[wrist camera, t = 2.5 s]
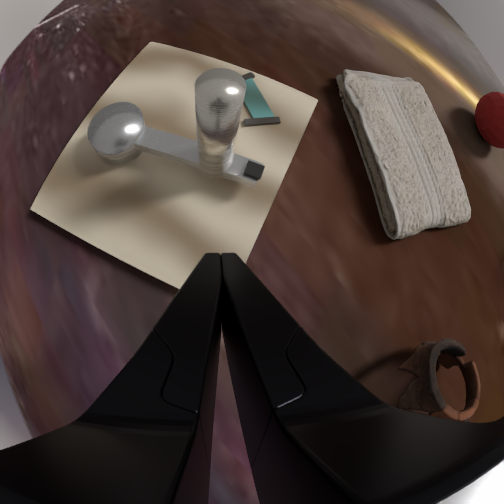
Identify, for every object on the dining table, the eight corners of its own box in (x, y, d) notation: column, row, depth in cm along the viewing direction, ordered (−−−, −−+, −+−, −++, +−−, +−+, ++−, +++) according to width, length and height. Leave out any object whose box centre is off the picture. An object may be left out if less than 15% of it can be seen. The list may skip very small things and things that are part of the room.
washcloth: (408, 87, 29) (420, 73, 26) (463, 225, 27) (482, 218, 24) (325, 79, 27) (335, 61, 24) (383, 244, 25) (403, 236, 22)
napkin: (224, 309, 22) (224, 310, 20) (35, 212, 21) (28, 208, 19) (314, 106, 26) (319, 98, 24) (151, 48, 25) (150, 39, 23)
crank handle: (87, 157, 21) (36, 85, 11) (113, 114, 21) (80, 33, 12) (248, 210, 22) (276, 144, 12) (266, 160, 22) (300, 78, 13)
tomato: (502, 89, 21) (540, 114, 20) (474, 79, 27) (511, 100, 26) (486, 147, 26) (524, 166, 25) (461, 128, 32) (498, 145, 31)
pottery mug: (338, 414, 22) (406, 387, 16) (385, 346, 28) (441, 306, 22) (415, 483, 18) (485, 470, 12) (448, 413, 24) (507, 386, 18)
